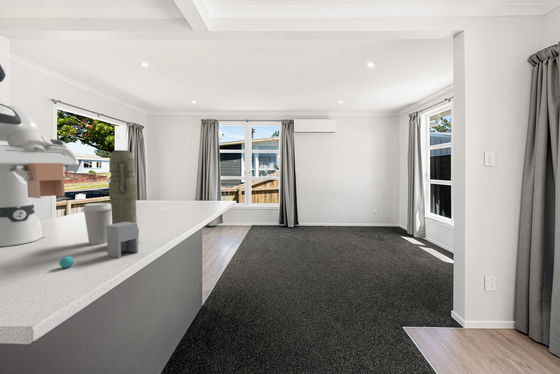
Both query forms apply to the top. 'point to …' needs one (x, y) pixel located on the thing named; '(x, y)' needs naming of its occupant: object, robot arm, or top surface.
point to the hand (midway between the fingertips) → (46, 179)
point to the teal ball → (66, 262)
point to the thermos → (122, 187)
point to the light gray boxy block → (122, 238)
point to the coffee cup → (97, 221)
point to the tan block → (45, 179)
